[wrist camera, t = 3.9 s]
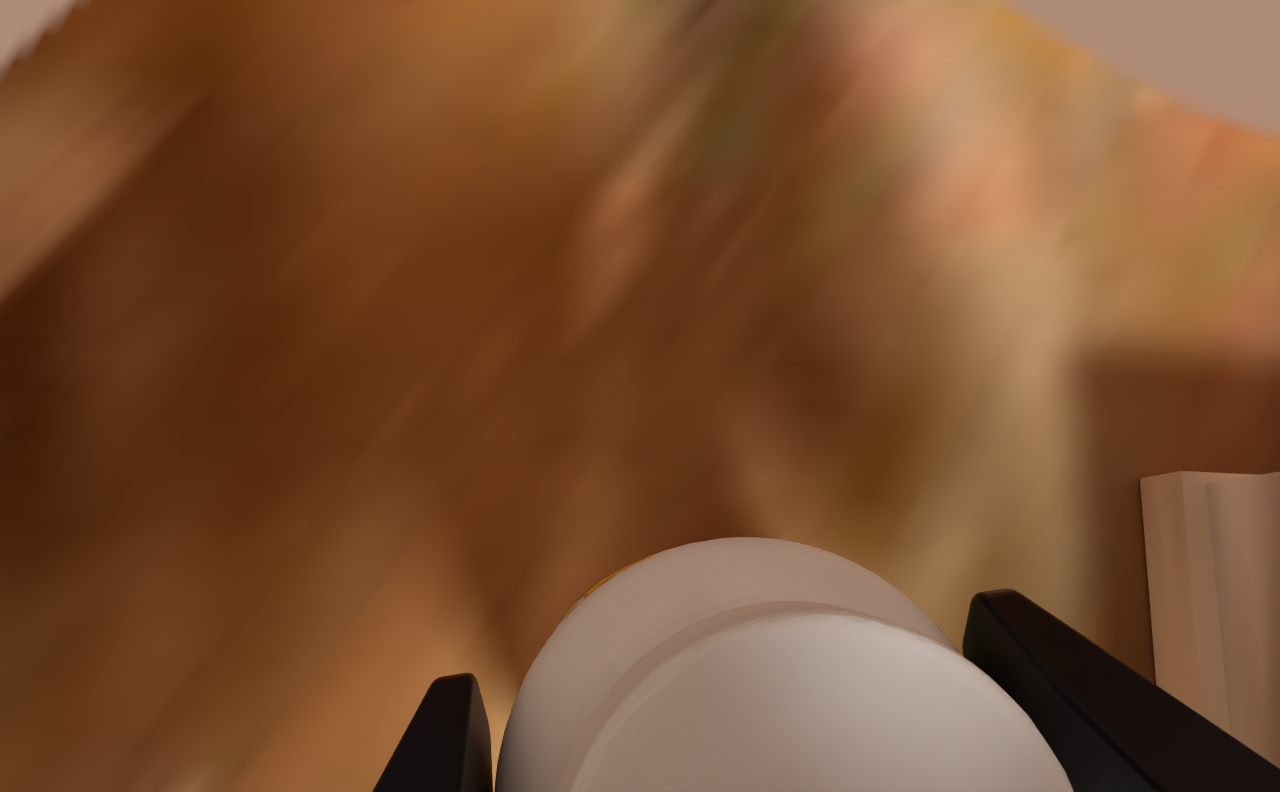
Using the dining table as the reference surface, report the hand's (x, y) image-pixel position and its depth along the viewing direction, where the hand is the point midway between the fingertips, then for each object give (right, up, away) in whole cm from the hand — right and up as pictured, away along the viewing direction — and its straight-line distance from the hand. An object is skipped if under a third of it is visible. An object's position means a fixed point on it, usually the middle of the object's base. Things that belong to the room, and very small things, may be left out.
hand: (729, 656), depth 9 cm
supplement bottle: (0, -3, +6) cm, 7 cm away
